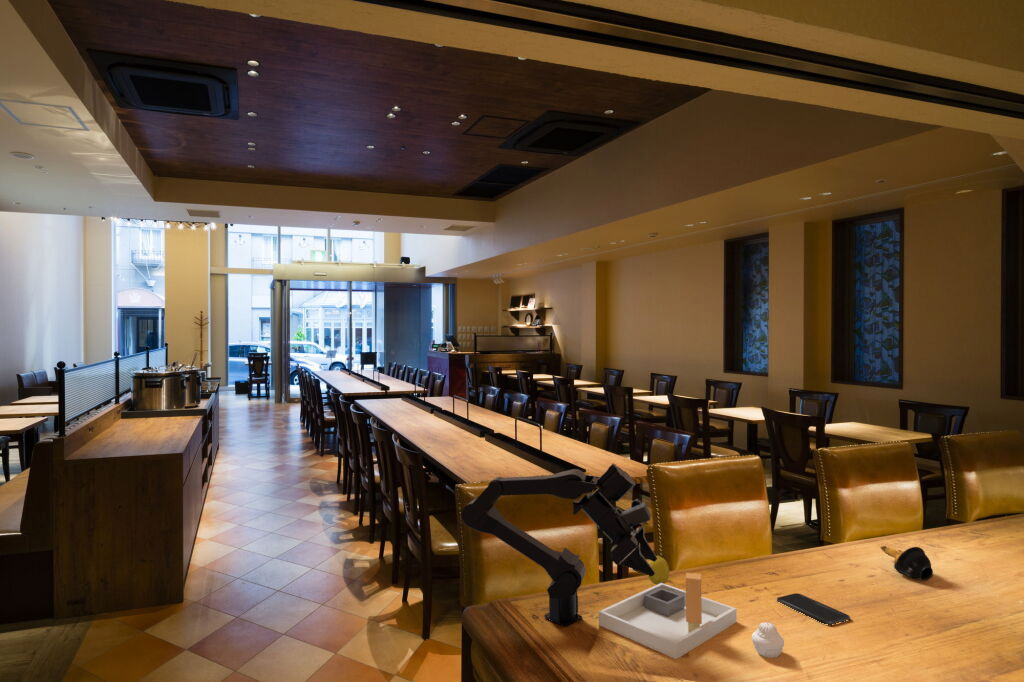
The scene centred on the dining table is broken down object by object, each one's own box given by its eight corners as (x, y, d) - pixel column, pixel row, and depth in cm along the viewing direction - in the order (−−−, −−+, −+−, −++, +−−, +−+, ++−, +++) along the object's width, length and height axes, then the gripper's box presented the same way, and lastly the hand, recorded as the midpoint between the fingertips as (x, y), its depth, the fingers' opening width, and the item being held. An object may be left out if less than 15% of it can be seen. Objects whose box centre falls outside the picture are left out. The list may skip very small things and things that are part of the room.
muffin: (775, 649, 125) (775, 615, 125) (790, 665, 119) (790, 629, 119) (746, 650, 125) (746, 616, 125) (759, 665, 119) (759, 630, 119)
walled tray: (676, 664, 120) (675, 644, 120) (598, 629, 135) (598, 611, 135) (736, 626, 136) (736, 608, 136) (661, 598, 151) (661, 582, 151)
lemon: (670, 591, 155) (669, 560, 155) (648, 589, 156) (647, 559, 156) (668, 583, 161) (668, 553, 161) (647, 581, 162) (647, 551, 162)
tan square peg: (686, 633, 130) (685, 578, 130) (686, 626, 133) (686, 572, 134) (701, 635, 129) (701, 579, 130) (701, 628, 132) (701, 574, 133)
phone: (828, 623, 135) (774, 598, 149) (828, 628, 135) (774, 602, 149) (852, 616, 138) (797, 592, 152) (852, 621, 138) (798, 596, 152)
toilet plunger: (911, 569, 157) (860, 527, 174) (915, 599, 161) (865, 556, 178) (942, 554, 157) (888, 515, 174) (945, 585, 161) (892, 543, 178)
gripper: (624, 501, 127) (680, 558, 124) (632, 482, 145) (681, 531, 142) (588, 536, 129) (641, 592, 126) (600, 513, 147) (647, 561, 144)
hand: (654, 567), depth 135 cm, fingers open, 9 cm apart
